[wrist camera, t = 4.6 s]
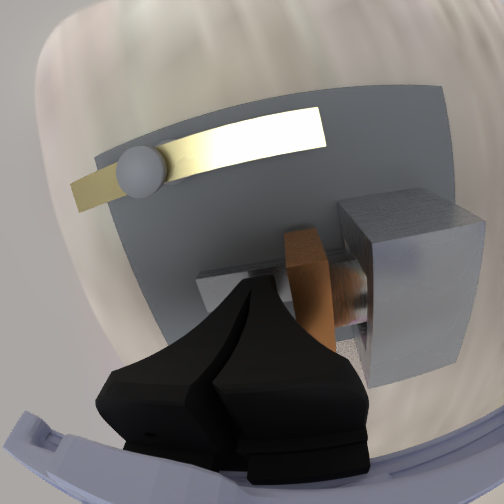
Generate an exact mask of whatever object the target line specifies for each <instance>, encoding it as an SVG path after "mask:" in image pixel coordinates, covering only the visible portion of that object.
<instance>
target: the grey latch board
mask: <svg viewBox="0 0 504 504" xmlns="http://www.w3.org/2000/svg"><path fill="white" fill-rule="evenodd" d="M315 107H318V110H319V114H320V119H321V123H322V128H323V133H324V137H325V142H326V146H325V147H319V148H312V149H306V150H301V151H295V152H289V153H284V154H279V155H274V156H269V157H264V158H259V159H255V160H250V161H246V162H241V163H237V164H233V165H229V166H225V167H220V168H217V169H213V170H209V171H205V172H201V173H197V174H194V175H190V176H187V177H183V178H180V179H176V180H173V181H169V182H166V183H164V181H165V179H166V174H167V168H166V163H165V160H164V158H163V156H162V154H161V153H160V152H159V151H158V150H157V149H155V147H158V146H160V145H163V144H166V143H169V142H172V141H175V140H178V139H181V138H184V137H187V136H191V135H194V134H197V133H200V132H204V131H207V130H211V129H214V128H218V127H222V126H226V125H229V124H233V123H237V122H242V121H246V120H250V119H255V118H259V117H264V116H269V115H274V114H279V113H284V112H290V111H295V110H301V109H308V108H315ZM94 158H95V162H96V166H97V169H98V170H100V169H103V168H105V167H107V166H109V165H112V164H114V163H116V162H118V163H117V166H116V178H117V181H118V184H119V186H120V188H121V189H122V190H123V191H124V192H125V193H126V194H127V195H126V196H123V197H120V198H117V199H115V200H112V201H109V202H108V205H109V208H110V211H111V214H112V217H113V220H114V223H115V226H116V229H117V231H118V234H119V237H120V239H121V242H122V245H123V247H124V250H125V252H126V255H127V257H128V260H129V262H130V265H131V267H132V270H133V272H134V274H135V277H136V279H137V281H138V284H139V286H140V288H141V290H142V293H143V295H144V297H145V299H146V301H147V303H148V306H149V308H150V310H151V312H152V314H153V316H154V318H155V320H156V322H157V324H158V326H159V328H160V330H161V332H162V334H163V336H164V338H165V340H166V342H167V343H168V345H170V344H172V343H174V342H175V341H177V340H178V339H180V338H181V337H183V336H184V335H186V334H187V333H188V332H190V331H191V330H192V329H193V328H195V327H196V326H197V325H198V324H200V323H201V322H202V321H203V320H204V319H205V318H206V317H207V316H208V315H209V314H210V313H211V312H207V309H206V307H205V304H204V302H203V299H202V296H201V294H200V291H199V288H198V285H197V283H196V280H195V279H196V277H197V276H198V274H199V272H203V271H209V270H215V269H221V268H226V267H232V266H238V265H244V264H250V263H256V262H262V261H267V260H273V259H279V258H285V239H284V233H288V232H293V231H299V230H305V229H310V228H316V230H317V232H318V235H319V238H320V240H321V243H322V245H323V248H324V250H330V249H335V248H341V247H342V238H341V230H340V221H339V214H338V206H337V200H341V199H347V198H353V197H359V196H365V195H372V194H378V193H385V192H392V191H399V190H406V189H413V188H423V189H425V190H428V191H430V192H432V193H434V194H436V195H438V196H440V197H442V198H444V199H446V200H448V201H450V202H452V203H454V204H455V182H454V164H453V152H452V143H451V135H450V128H449V121H448V115H447V109H446V104H445V99H444V94H443V90H442V86H427V85H373V86H356V87H343V88H333V89H324V90H316V91H309V92H302V93H296V94H290V95H284V96H279V97H273V98H268V99H263V100H259V101H254V102H250V103H245V104H241V105H237V106H233V107H229V108H226V109H222V110H218V111H215V112H211V113H208V114H204V115H201V116H198V117H194V118H191V119H188V120H185V121H182V122H179V123H176V124H173V125H170V126H168V127H165V128H162V129H159V130H157V131H154V132H151V133H149V134H146V135H144V136H141V137H139V138H136V139H134V140H131V141H129V142H127V143H124V144H122V145H120V146H117V147H115V148H113V149H111V150H109V151H106V152H104V153H102V154H100V155H98V156H96V157H94ZM283 303H284V305H285V306H286V308H287V309H288V311H289V312H290V313H291V315H292V316H293V317H294V318H295V320H296V317H295V312H294V306H293V301H287V302H283ZM352 338H354V337H353V334H352V331H351V327H350V325H348V326H343V327H338V328H335V342H336V341H341V340H347V339H352Z"/></svg>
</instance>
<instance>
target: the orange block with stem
mask: <svg viewBox="0 0 504 504" xmlns="http://www.w3.org/2000/svg"><path fill="white" fill-rule="evenodd" d="M284 239H285V257H286V270H287V275H288V280H289V285H290V290H291V296H292V301H293V306H294V312H295V317H296V321H297V322H298V323H299V324H300V325H301V326H302V327H303V328H304V329H305V330H306V331H307V332H308V333H309V334H310V335H312V336H313V337H314V338H315V339H316V340H318V341H319V342H320V343H322V344H323V345H324V346H326V347H327V348H329V349H330V350H332V351H334V352H335V353H336V342H335V328H338V327H343V326H348V325H353V324H358V323H363V322H367V277H366V275H365V273H364V271H363V270H362V268H361V266H360V264H359V262H358V261H357V259H356V260H351V261H346V262H340V263H335V264H328V259H327V256H326V253H325V251H324V248H323V245H322V243H321V240H320V238H319V235H318V232H317V230H316V228H310V229H305V230H299V231H293V232H288V233H284Z"/></svg>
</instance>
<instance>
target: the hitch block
mask: <svg viewBox="0 0 504 504" xmlns="http://www.w3.org/2000/svg"><path fill="white" fill-rule="evenodd" d="M337 206H338V214H339V221H340V230H341V238H342V247H341V248H335V249H330V250H324V251H325V253H326V256H327V259H328V264H335V263H340V262H346V261H351V260H356V259H357V261H358V262H359V264H360V266H361V268H362V270H363V271H364V273H365V275H366V277H367V322H363V323H358V324H353V325H350V327H351V331H352V334H353V337H354V340H355V344H356V347H357V351H358V354H359V358H360V361H361V365H362V368H363V372H364V376H365V379H366V383H367V387H368V389H370V388H374V387H378V386H382V385H386V384H390V383H394V382H398V381H401V380H405V379H408V378H411V377H415V376H418V375H421V374H424V373H427V372H430V371H433V370H436V369H439V368H442V367H444V366H447V365H450V364H452V363H455V362H456V360H457V357H458V354H459V351H460V348H461V345H462V342H463V339H464V336H465V333H466V329H467V326H468V322H469V319H470V315H471V311H472V307H473V303H474V298H475V294H476V289H477V284H478V279H479V273H480V267H481V261H482V254H483V246H484V236H485V225H486V221H484V220H483V219H481V218H479V217H478V216H476V215H474V214H472V213H470V212H469V211H467V210H465V209H463V208H461V207H459V206H458V205H456V204H454V203H452V202H450V201H448V200H446V199H444V198H442V197H440V196H438V195H436V194H434V193H432V192H430V191H428V190H425V189H423V188H413V189H406V190H399V191H392V192H385V193H378V194H372V195H365V196H359V197H353V198H347V199H341V200H337ZM270 274H271V275H273V276H274V278H275V282H276V287H277V291H278V294H279V296H280V298H281V300H282V302H287V301H292V296H291V290H290V285H289V280H288V275H287V270H286V257H285V258H279V259H273V260H267V261H262V262H256V263H250V264H244V265H238V266H232V267H226V268H221V269H215V270H209V271H203V272H199V274H198V276H197V277H196V279H195V280H196V283H197V285H198V288H199V291H200V294H201V296H202V299H203V302H204V304H205V307H206V309H207V312H212V311H213V310H214V309H215V308H217V307H218V306H219V305H220V303H221V302H222V301H223V300H224V299H225V298H226V297H227V296H228V295H229V294H230V292H231V291H232V290H233V289H234V288H235V287H236V285H237V284H238V283H239V282H240V281H241V280H242V279H245V278H251V277H258V276H264V275H270Z"/></svg>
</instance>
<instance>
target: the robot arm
mask: <svg viewBox="0 0 504 504" xmlns="http://www.w3.org/2000/svg"><path fill="white" fill-rule="evenodd" d="M96 408H97V409H98V412H99V414H100V415H101V416H102V418H103V419H104V420H105V421H106V422H107V423H108V424H109V425H110V426H111V427H112V428H113V429H114V430H115V431H116V432H117V433H118V434H119V435H120V436H121V437H122V438H124V440H126V443H125V445H124V448H123V450H122V449H118V448H114V447H111V446H108V445H104V444H101V443H98V442H94V441H91V440H88V439H85V438H82V437H80V436H75V435H64V434H61V433H59V432H56V431H54V430H52V429H51V428H50V427H49V426H48V425H47V424H46V423H45V422H44V421H43V420H42V419H41V418H39V417H38V416H36V415H34V414H32V413H30V412H28V411H24V413H23V414H22V416H21V418H20V419H19V421H18V422H17V424H16V425H15V427H14V429H13V430H12V432H11V434H10V435H9V437H8V439H7V440H6V442H5V444H4V446H3V448H4V449H5V450H6V451H7V452H8V453H9V454H10V455H12V456H13V457H14V458H15V459H16V460H18V461H19V462H20V463H21V464H23V465H24V466H25V467H27V468H28V469H29V470H31V471H32V472H33V473H35V474H36V475H38V476H39V477H40V478H42V479H43V480H45V481H46V482H48V483H49V484H51V485H53V486H54V487H56V488H57V489H59V490H61V491H62V492H64V493H66V494H68V495H69V496H71V497H73V498H75V499H77V500H79V501H80V502H82V504H468V503H470V502H472V501H473V500H475V499H477V498H479V497H480V496H482V495H484V494H486V493H487V492H489V491H491V490H492V489H494V488H496V487H497V486H499V485H500V484H502V483H503V482H504V405H503V406H501V407H500V408H498V409H496V410H495V411H493V412H491V413H489V414H487V415H486V416H484V417H482V418H480V419H478V420H476V421H474V422H472V423H470V424H468V425H466V426H464V427H462V428H459V429H457V430H455V431H453V432H450V433H448V434H446V435H443V436H441V437H438V438H436V439H433V440H431V441H428V442H425V443H422V444H420V445H417V446H414V447H411V448H408V449H404V450H401V451H398V452H394V453H391V454H387V455H383V456H379V457H375V458H371V459H370V458H369V452H368V446H367V440H368V435H367V430H366V421H367V415H368V409H369V399H368V395H367V393H366V390H365V388H364V385H363V383H362V381H361V379H360V377H359V376H358V374H357V372H356V371H355V369H354V368H353V366H352V365H351V363H350V362H349V360H348V359H346V358H345V357H343V356H341V355H339V354H337V353H335V352H334V351H332V350H330V349H329V348H327V347H326V346H324V345H323V344H322V343H320V342H319V341H318V340H316V339H315V338H314V337H313V336H312V335H310V334H309V333H308V332H307V331H306V330H305V329H304V328H303V327H302V326H301V325H300V324H299V323H298V322H297V321H296V320H295V318H294V317H293V316H292V315H291V313H290V312H289V311H288V309H287V308H286V306H285V305H284V303H283V302H282V300H281V298H280V296H279V294H278V291H277V287H276V282H275V278H274V276H273V275H271V274H270V275H264V276H258V277H251V278H245V279H242V280H241V281H240V282H239V283H238V284H237V285H236V287H235V288H234V289H233V290H232V291H231V292H230V294H229V295H228V296H227V297H226V298H225V299H224V300H223V301H222V302H221V303H220V305H219V306H218V307H217V308H215V309H214V310H213V311H212V312H211V313H210V314H209V315H208V316H207V317H206V318H205V319H204V320H203V321H202V322H201V323H200V324H198V325H197V326H196V327H195V328H193V329H192V330H191V331H190V332H188V333H187V334H186V335H184V336H183V337H181V338H180V339H178V340H177V341H175V342H174V343H172V344H170V345H169V346H167V347H166V348H164V349H162V350H160V351H159V352H157V353H155V354H153V355H151V356H149V357H147V358H145V359H143V360H140V361H138V362H136V363H133V364H131V365H128V366H126V367H123V368H120V369H118V370H115V371H112V372H111V374H110V376H109V377H108V379H107V381H106V383H105V384H104V386H103V388H102V390H101V391H100V393H99V395H98V397H97V399H96Z"/></svg>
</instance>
